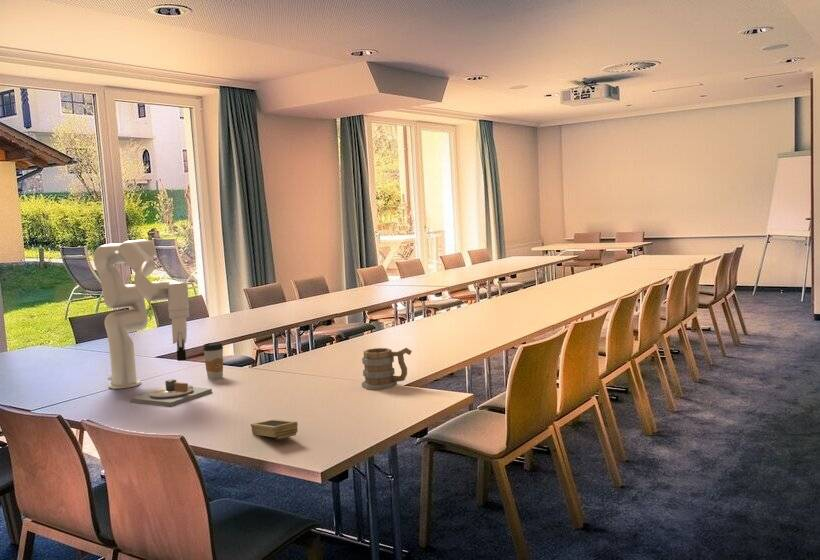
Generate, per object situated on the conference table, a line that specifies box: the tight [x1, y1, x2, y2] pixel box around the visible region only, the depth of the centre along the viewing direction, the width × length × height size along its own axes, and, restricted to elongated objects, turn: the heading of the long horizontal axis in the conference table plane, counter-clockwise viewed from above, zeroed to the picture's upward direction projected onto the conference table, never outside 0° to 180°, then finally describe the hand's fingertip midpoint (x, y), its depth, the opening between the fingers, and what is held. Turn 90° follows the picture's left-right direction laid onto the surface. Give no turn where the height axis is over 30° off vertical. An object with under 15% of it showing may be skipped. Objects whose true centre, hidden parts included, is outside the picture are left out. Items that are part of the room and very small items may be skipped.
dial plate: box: [130, 386, 213, 407], centre depth 267 cm, size 21×21×2 cm
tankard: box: [361, 347, 413, 391], centre depth 267 cm, size 20×13×15 cm, turn 71°
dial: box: [149, 379, 194, 398], centre depth 267 cm, size 16×16×5 cm
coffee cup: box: [202, 341, 224, 381], centre depth 297 cm, size 8×8×15 cm
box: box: [250, 419, 298, 441], centre depth 210 cm, size 8×22×5 cm, turn 36°
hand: (181, 360), depth 270 cm, fingers closed
